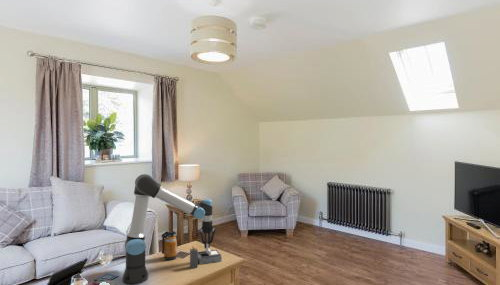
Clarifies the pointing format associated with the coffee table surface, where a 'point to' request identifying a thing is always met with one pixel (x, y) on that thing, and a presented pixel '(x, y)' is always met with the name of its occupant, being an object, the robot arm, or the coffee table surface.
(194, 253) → the plug
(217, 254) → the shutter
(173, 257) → the canister
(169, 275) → the coffee table surface
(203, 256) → the socket
